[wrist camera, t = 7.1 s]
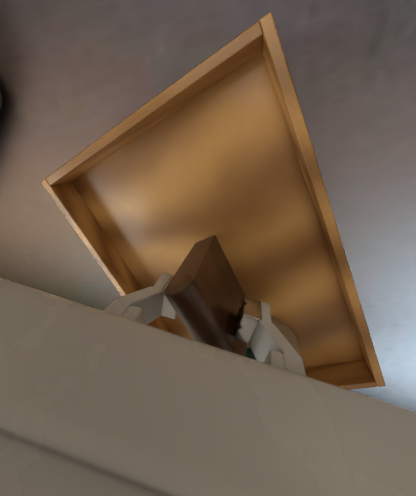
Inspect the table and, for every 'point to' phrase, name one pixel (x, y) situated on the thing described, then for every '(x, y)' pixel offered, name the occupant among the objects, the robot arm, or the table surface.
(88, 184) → the tray
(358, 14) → the table surface
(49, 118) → the table surface
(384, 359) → the table surface
